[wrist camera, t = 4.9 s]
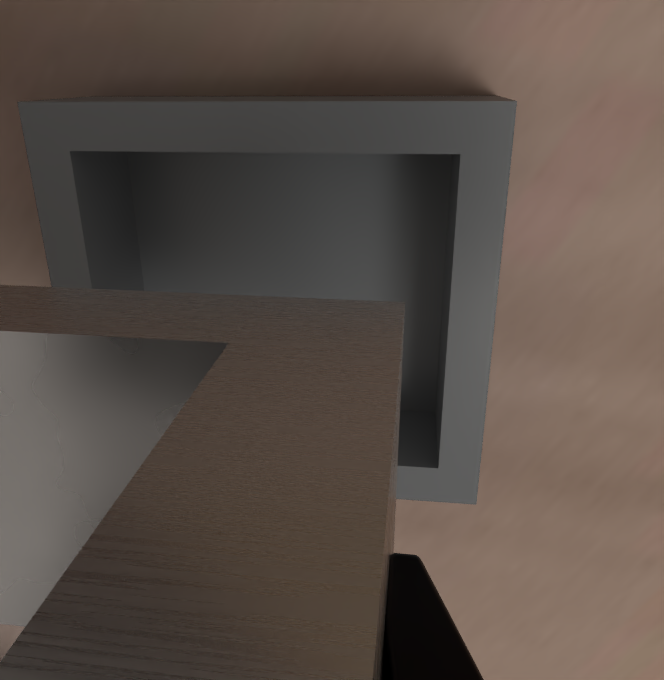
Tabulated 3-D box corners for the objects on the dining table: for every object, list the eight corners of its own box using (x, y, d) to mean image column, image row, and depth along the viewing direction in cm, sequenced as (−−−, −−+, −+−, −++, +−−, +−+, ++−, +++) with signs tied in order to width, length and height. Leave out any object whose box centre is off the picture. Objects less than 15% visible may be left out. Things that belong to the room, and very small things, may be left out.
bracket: (392, 582, 13) (348, 1270, 5) (49, 548, 14) (-380, 1097, 6) (404, 302, 10) (358, 852, 3) (-12, 284, 11) (-804, 676, 4)
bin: (466, 435, 23) (476, 504, 19) (137, 415, 24) (87, 476, 21) (496, 95, 18) (516, 101, 15) (91, 96, 20) (17, 101, 16)
